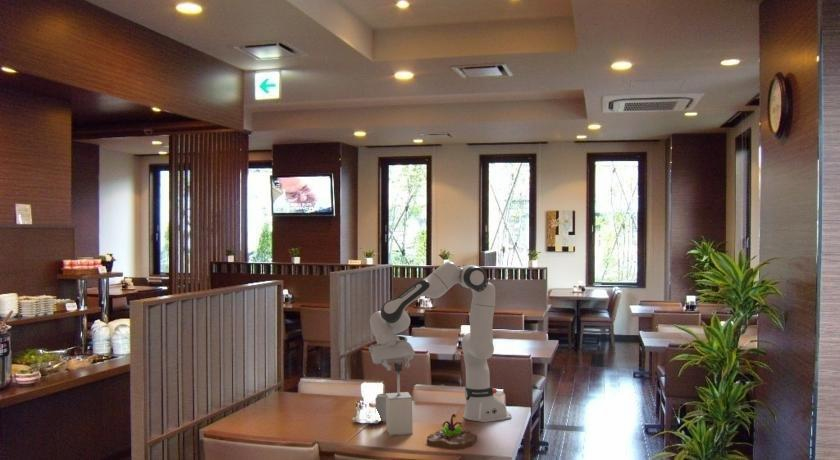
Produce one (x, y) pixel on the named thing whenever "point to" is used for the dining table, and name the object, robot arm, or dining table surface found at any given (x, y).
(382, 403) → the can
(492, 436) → the dining table surface
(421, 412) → the dining table surface
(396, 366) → the plunger
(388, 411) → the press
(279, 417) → the dining table surface
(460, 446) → the plant
